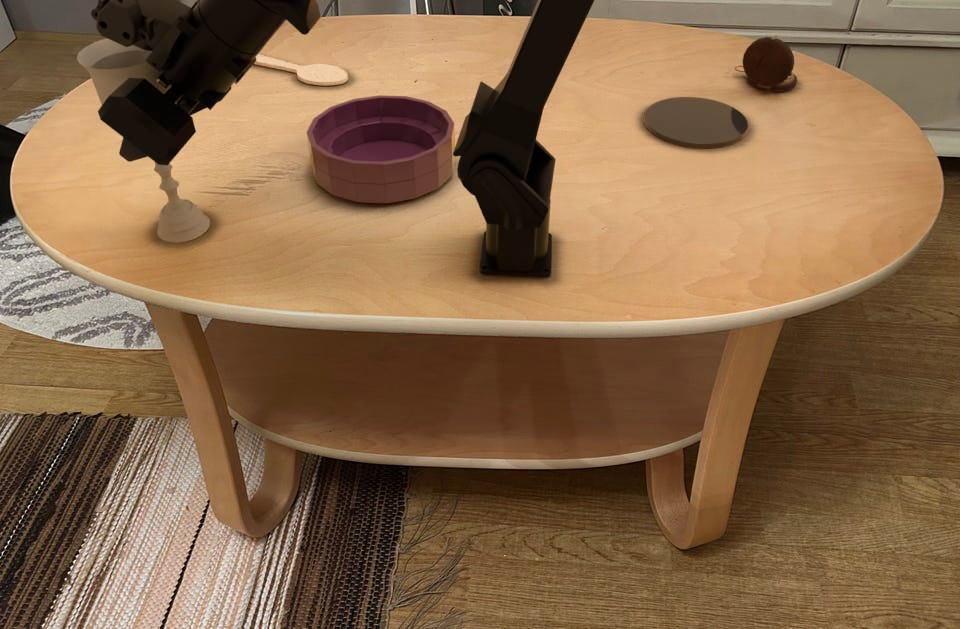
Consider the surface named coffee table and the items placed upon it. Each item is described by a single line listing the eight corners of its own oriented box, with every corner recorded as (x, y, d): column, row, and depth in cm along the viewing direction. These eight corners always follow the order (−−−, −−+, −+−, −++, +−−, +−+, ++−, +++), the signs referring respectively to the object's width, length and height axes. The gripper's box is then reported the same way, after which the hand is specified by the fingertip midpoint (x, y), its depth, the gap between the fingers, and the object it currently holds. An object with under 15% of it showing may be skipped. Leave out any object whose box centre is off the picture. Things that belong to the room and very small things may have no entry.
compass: (801, 79, 104) (816, 23, 99) (782, 102, 99) (797, 44, 94) (742, 65, 107) (754, 10, 102) (720, 86, 102) (731, 30, 97)
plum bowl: (446, 210, 80) (444, 166, 77) (299, 204, 81) (291, 161, 78) (460, 138, 92) (460, 97, 89) (331, 133, 93) (325, 93, 90)
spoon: (251, 49, 112) (250, 45, 111) (357, 74, 105) (357, 70, 105) (225, 63, 108) (224, 59, 108) (333, 89, 101) (333, 85, 101)
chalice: (131, 242, 76) (58, 65, 64) (169, 203, 81) (107, 31, 69) (199, 252, 75) (138, 72, 63) (233, 211, 80) (182, 37, 68)
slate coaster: (755, 150, 89) (756, 145, 89) (648, 146, 90) (648, 141, 90) (737, 102, 98) (738, 98, 98) (640, 99, 99) (640, 95, 99)
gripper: (193, -86, 67) (110, 37, 76) (81, -13, 53) (-5, 128, 62) (297, 12, 72) (208, 117, 80) (219, 103, 58) (121, 220, 66)
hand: (139, 141), depth 72 cm, fingers closed on chalice, 5 cm apart
